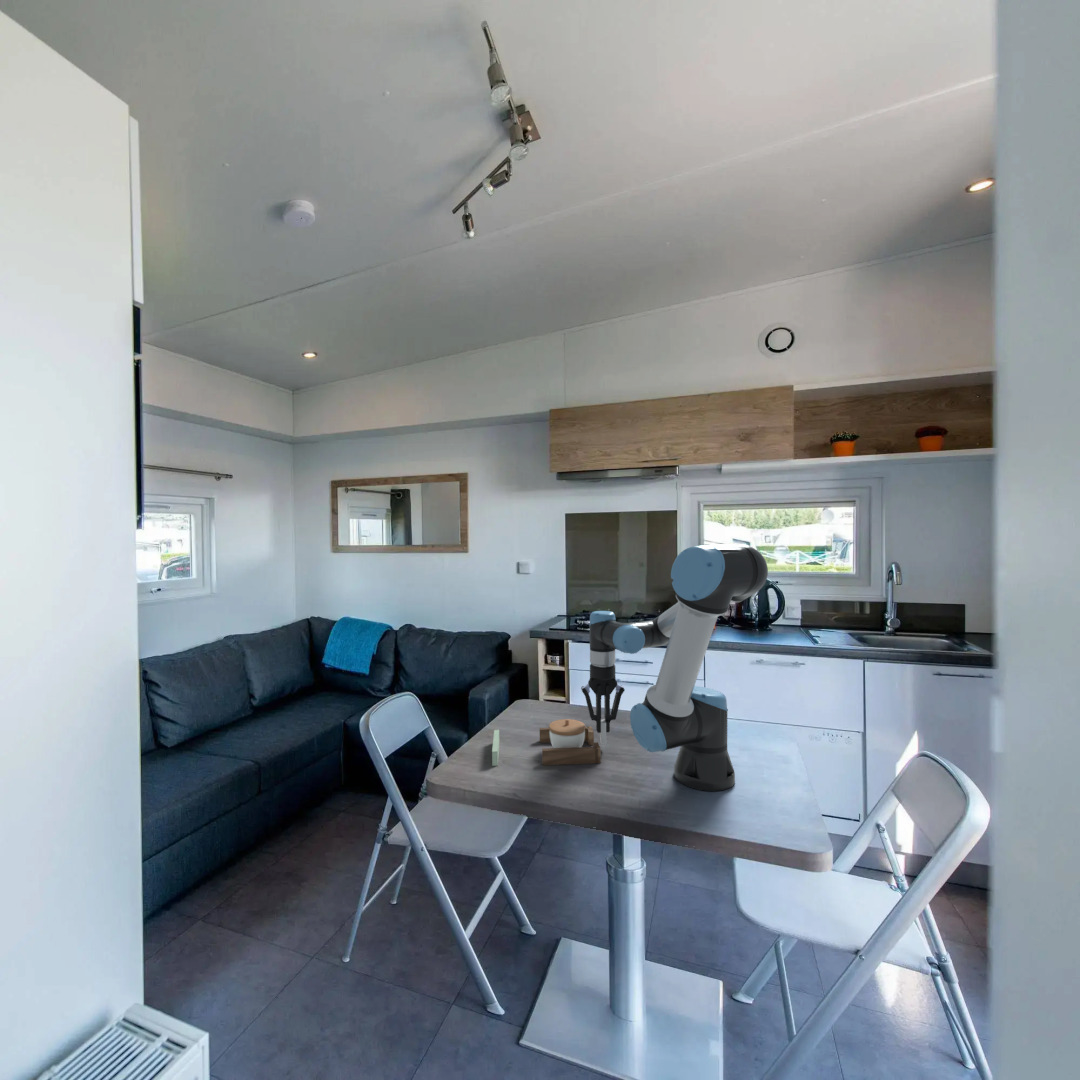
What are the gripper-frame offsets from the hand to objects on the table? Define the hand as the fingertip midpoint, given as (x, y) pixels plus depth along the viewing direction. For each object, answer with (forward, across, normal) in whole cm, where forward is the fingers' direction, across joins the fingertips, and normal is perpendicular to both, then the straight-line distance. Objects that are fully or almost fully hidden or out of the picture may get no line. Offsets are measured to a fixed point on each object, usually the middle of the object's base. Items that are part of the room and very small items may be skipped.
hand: (603, 742), depth 154 cm
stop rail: (+2, +32, +1) cm, 32 cm away
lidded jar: (+2, +11, 0) cm, 11 cm away
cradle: (+2, +11, 0) cm, 11 cm away
